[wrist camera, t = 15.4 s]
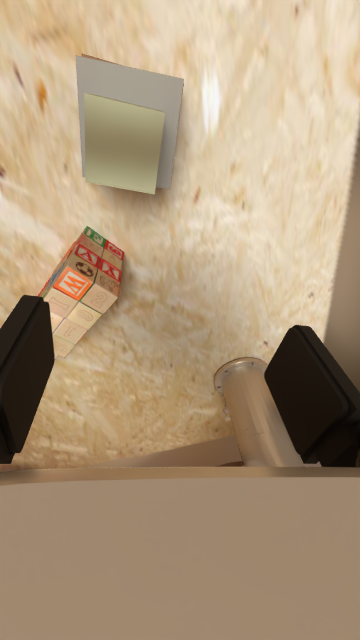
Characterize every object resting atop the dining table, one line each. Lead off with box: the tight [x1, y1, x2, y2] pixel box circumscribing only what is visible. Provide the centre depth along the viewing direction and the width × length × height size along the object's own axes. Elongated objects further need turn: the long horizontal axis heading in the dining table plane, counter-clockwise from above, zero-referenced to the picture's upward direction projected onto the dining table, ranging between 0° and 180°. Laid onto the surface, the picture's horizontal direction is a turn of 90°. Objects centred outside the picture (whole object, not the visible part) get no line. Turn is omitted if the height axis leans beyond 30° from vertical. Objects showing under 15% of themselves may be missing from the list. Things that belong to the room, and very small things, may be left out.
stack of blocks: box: [38, 226, 124, 359], centre depth 38 cm, size 21×6×12 cm, turn 138°
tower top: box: [76, 56, 184, 189], centre depth 25 cm, size 8×8×5 cm
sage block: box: [84, 93, 165, 195], centre depth 21 cm, size 5×5×6 cm
